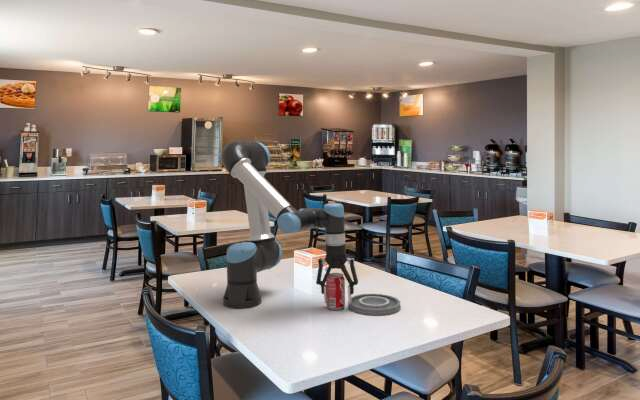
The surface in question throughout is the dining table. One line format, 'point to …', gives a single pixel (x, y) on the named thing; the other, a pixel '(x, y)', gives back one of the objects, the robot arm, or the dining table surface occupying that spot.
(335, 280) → the soda can
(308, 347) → the dining table surface
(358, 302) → the tray
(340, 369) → the dining table surface
